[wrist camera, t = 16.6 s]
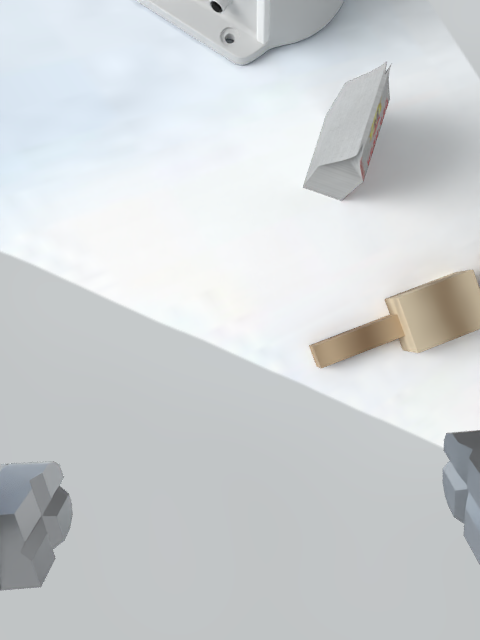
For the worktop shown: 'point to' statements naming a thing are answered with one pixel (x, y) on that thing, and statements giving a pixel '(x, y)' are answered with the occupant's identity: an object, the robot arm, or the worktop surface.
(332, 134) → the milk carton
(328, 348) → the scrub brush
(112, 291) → the worktop surface
